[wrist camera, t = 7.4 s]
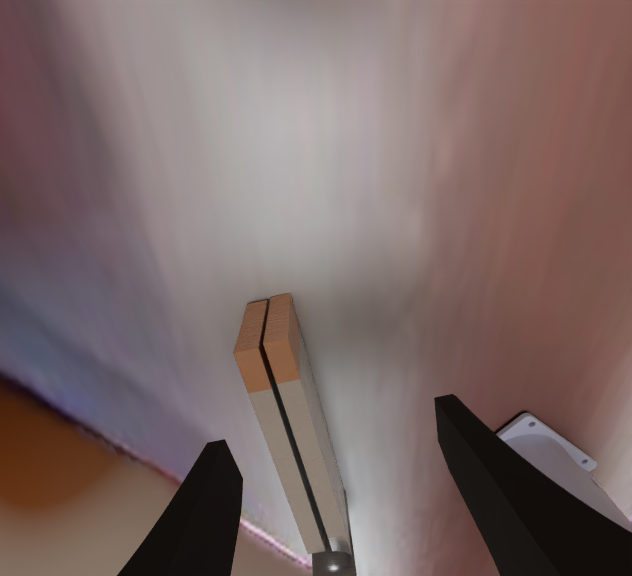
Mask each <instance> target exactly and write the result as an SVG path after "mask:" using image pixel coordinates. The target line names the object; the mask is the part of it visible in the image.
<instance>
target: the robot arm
mask: <svg viewBox="0 0 632 576" xmlns="http://www.w3.org/2000/svg"><path fill="white" fill-rule="evenodd" d="M434 399H435V410H436V421H437V432H438V442H439V444H440V447H441V450H442V452H443V455H444V458H445V460H446V463H447V465H448V468H449V470H450V473H451V476H452V477H453V479H454V481H455V483H456V485H457V487H458V489H459V491H460V493H461V495H462V497H463V499H464V501H465V503H466V505H467V507H468V509H469V511H470V513H471V515H472V517H473V519H474V521H475V523H476V525H477V527H478V529H479V531H480V533H481V535H482V537H483V539H484V541H485V543H486V544H487V547H488V549H489V551H490V553H491V555H492V557H493V559H494V562H495V564H496V566H497V569H498V571H499V574H500V576H632V523H631V522H630V521H629V520H628V519H627V517H626V516H625V515H624V514H623V513H622V511H621V510H620V509H619V508H618V507H617V505H616V504H615V503H614V502H613V501H612V500H611V498H610V497H609V496H608V495H607V494H606V492H605V491H604V490H603V489H602V488H601V487H600V485H599V484H598V483H597V482H596V481H595V479H594V478H593V477H592V476H591V475H590V474H589V472H590V471H592V470H593V469H595V468H596V467H597V463H596V461H595V460H594V459H593V458H591V457H590V456H588V455H587V454H586V453H584V452H583V451H581V450H580V449H579V448H577V447H576V446H575V445H573V444H572V443H570V442H569V441H568V440H566V439H565V438H563V437H562V436H561V435H559V434H558V433H556V432H555V431H554V430H552V429H551V428H550V427H548V426H547V425H545V424H544V423H543V422H541V421H540V420H538V419H537V418H536V417H534V416H533V415H531V414H530V413H523V414H522V415H520V416H519V417H518V418H516V419H515V420H514V421H512V422H511V423H510V424H509V425H507V426H506V427H505V428H503V429H502V430H501V431H499V432H498V433H497V434H495V433H494V432H493V431H492V430H491V429H489V428H488V427H487V426H486V425H485V424H484V423H483V422H482V421H481V420H480V419H479V418H478V417H477V416H475V415H474V414H473V413H472V412H471V411H470V410H469V409H468V408H467V407H466V406H465V405H464V404H463V403H462V402H461V401H460V400H459V399H458V398H457V397H456V396H455V395H453V394H451V395H446V396H441V397H436V398H434ZM242 489H243V477H242V475H241V473H240V471H239V469H238V467H237V465H236V462H235V460H234V458H233V456H232V454H231V452H230V449H229V447H228V445H227V443H226V441H225V439H224V440H219V441H214V442H209V443H207V445H206V446H205V448H204V449H203V451H202V452H201V454H200V456H199V457H198V459H197V460H196V462H195V464H194V465H193V467H192V469H191V470H190V472H189V473H188V475H187V477H186V478H185V480H184V481H183V483H182V485H181V486H180V488H179V489H178V491H177V492H176V494H175V495H174V497H173V499H172V500H171V502H170V503H169V505H168V506H167V508H166V509H165V511H164V512H163V514H162V515H161V517H160V518H159V520H158V521H157V522H156V524H155V525H154V527H153V528H152V530H151V531H150V532H149V534H148V535H147V537H146V538H145V540H144V541H143V542H142V544H141V545H140V546H139V548H138V549H137V551H136V552H135V553H134V554H133V556H132V557H131V558H130V560H129V561H128V562H127V564H126V565H125V566H124V567H123V569H122V570H121V571H120V572H119V574H118V575H117V576H230V575H231V569H232V563H233V557H234V552H235V546H236V540H237V534H238V528H239V522H240V516H241V506H242Z"/></svg>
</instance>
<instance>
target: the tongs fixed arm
mask: <svg viewBox="0 0 632 576" xmlns="http://www.w3.org/2000/svg"><path fill="white" fill-rule="evenodd" d="M263 345H264V348H265V351H266V354H267V357H268V360H269V363H270V366H271V369H272V372H273V375H274V378H275V381H276V384H277V387H278V390H279V393H280V396H281V399H282V402H283V405H284V408H285V411H286V414H287V417H288V420H289V423H290V426H291V429H292V432H293V435H294V438H295V441H296V444H297V447H298V450H299V452H300V455H301V458H302V461H303V464H304V467H305V470H306V473H307V476H308V479H309V482H310V485H311V488H312V491H313V494H314V497H315V500H316V503H317V506H318V509H319V512H320V515H321V518H322V521H323V524H324V537H325V551H324V552H318V553H312V565H313V576H356V567H355V559H354V552H353V544H352V536H351V529H350V521H349V513H348V506H347V498H346V492H345V490H344V488H343V485H342V481H341V478H340V474H339V470H338V467H337V463H336V459H335V456H334V452H333V448H332V445H331V441H330V437H329V434H328V430H327V426H326V423H325V419H324V415H323V412H322V408H321V404H320V401H319V397H318V393H317V390H316V386H315V382H314V379H313V375H312V371H311V368H310V364H309V360H308V357H307V353H306V349H305V346H304V342H303V339H302V335H301V331H300V328H299V324H298V320H297V317H296V313H295V309H294V306H293V302H292V298H291V295H290V293H287V294H283V295H278V296H273V297H271V299H270V305H269V311H268V317H267V323H266V329H265V336H264V342H263Z"/></svg>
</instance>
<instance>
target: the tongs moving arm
mask: <svg viewBox="0 0 632 576" xmlns="http://www.w3.org/2000/svg"><path fill="white" fill-rule="evenodd" d="M268 311H269V305H268V301H267V300H264V301H259V302H254V303H249V304H247V308H246V311H245V315H244V318H243V322H242V325H241V329H240V332H239V336H238V339H237V343H236V346H235V349H234V356H235V359H236V361H237V364H238V367H239V369H240V372H241V375H242V378H243V380H244V383H245V386H246V388H247V391H248V394H249V396H250V399H251V402H252V405H253V407H254V410H255V413H256V415H257V418H258V421H259V423H260V426H261V429H262V432H263V434H264V437H265V440H266V442H267V445H268V448H269V450H270V453H271V456H272V459H273V461H274V464H275V467H276V469H277V472H278V475H279V477H280V480H281V483H282V486H283V488H284V491H285V494H286V496H287V499H288V502H289V504H290V507H291V510H292V513H293V515H294V518H295V521H296V523H297V526H298V529H299V531H300V534H301V537H302V540H303V542H304V545H305V548H306V550H307V553H308V554H312V553H318V552H324V551H325V537H324V524H323V521H322V518H321V515H320V512H319V509H318V506H317V503H316V500H315V497H314V494H313V491H312V488H311V485H310V482H309V479H308V476H307V473H306V470H305V467H304V464H303V461H302V458H301V455H300V452H299V450H298V447H297V444H296V441H295V438H294V435H293V432H292V429H291V426H290V423H289V420H288V417H287V414H286V411H285V408H284V405H283V402H282V399H281V396H280V393H279V390H278V387H277V384H276V381H275V378H274V375H273V372H272V369H271V366H270V363H269V360H268V357H267V354H266V351H265V348H264V345H263V342H264V336H265V329H266V323H267V317H268Z"/></svg>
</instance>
